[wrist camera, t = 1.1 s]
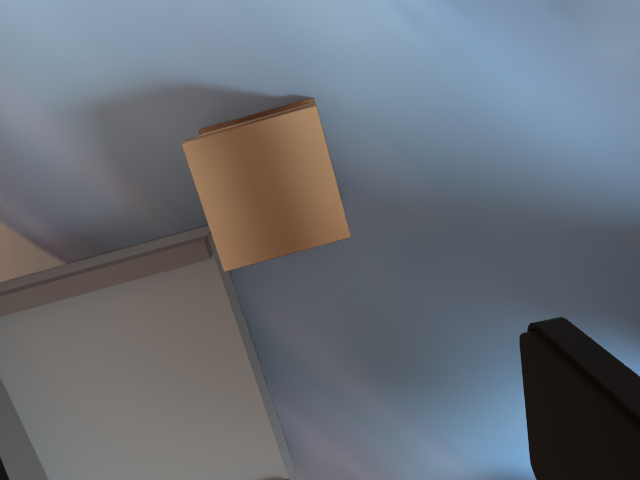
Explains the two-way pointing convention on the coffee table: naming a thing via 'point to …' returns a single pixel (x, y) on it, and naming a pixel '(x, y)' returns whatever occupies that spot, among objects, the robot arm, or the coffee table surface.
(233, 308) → the dock
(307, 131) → the pedestal
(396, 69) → the coffee table surface
